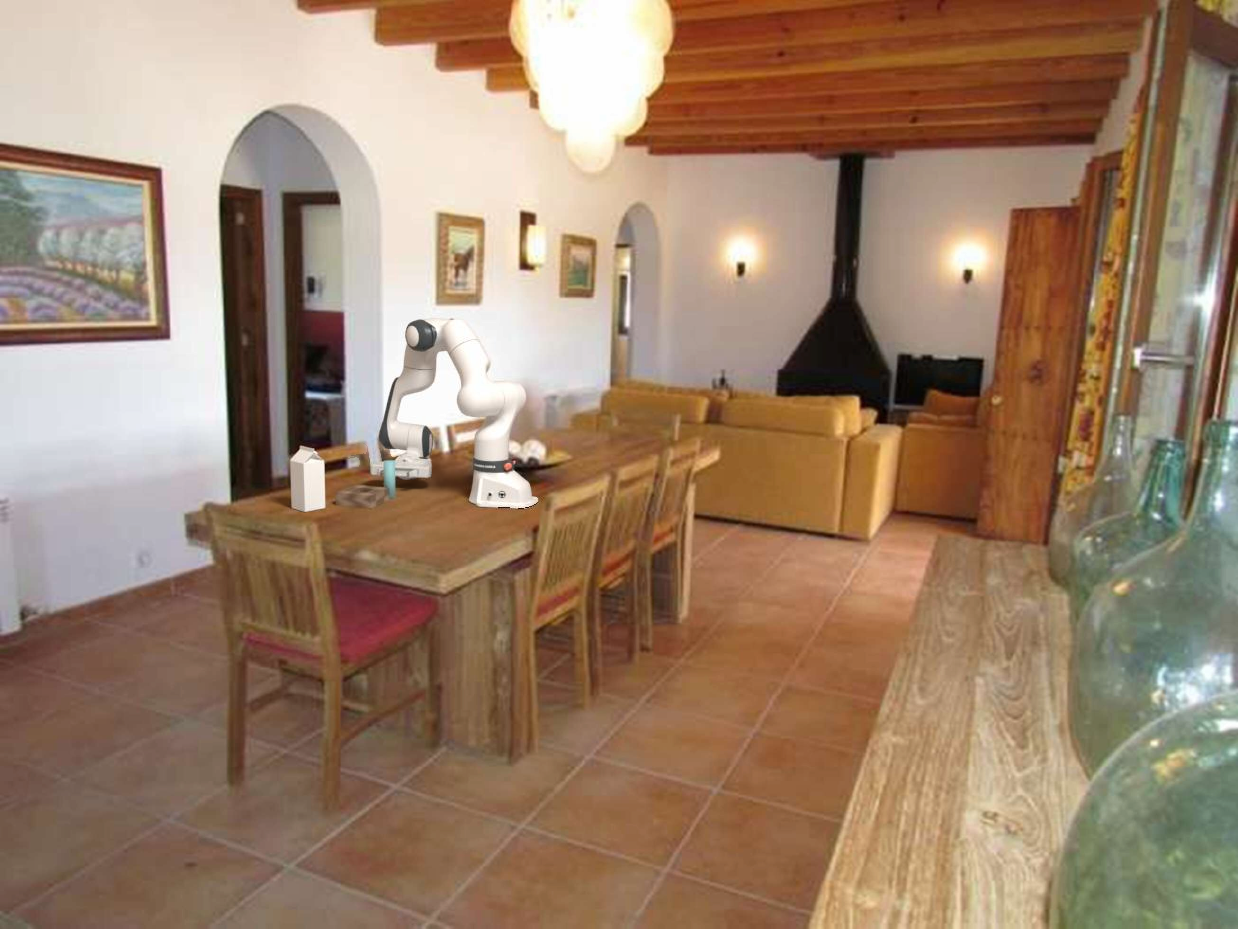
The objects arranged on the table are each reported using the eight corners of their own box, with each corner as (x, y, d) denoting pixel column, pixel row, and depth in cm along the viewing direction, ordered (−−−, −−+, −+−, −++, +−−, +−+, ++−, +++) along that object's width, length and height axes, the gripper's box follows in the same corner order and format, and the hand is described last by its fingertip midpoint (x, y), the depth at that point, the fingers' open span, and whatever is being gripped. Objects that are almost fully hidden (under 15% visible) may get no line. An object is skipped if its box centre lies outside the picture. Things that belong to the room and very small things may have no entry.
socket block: (389, 500, 281) (389, 488, 280) (370, 508, 269) (370, 496, 269) (355, 496, 283) (355, 484, 283) (335, 504, 272) (335, 492, 271)
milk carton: (305, 512, 261) (303, 450, 258) (291, 508, 266) (289, 447, 262) (325, 508, 267) (324, 447, 263) (312, 504, 271) (310, 444, 268)
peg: (397, 496, 286) (397, 460, 284) (392, 498, 283) (391, 462, 281) (387, 495, 287) (386, 459, 285) (381, 497, 284) (381, 461, 281)
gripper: (377, 455, 302) (363, 463, 289) (435, 458, 301) (424, 466, 288) (377, 473, 303) (363, 482, 290) (435, 476, 302) (424, 485, 289)
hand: (394, 474), depth 289 cm, fingers open, 8 cm apart
